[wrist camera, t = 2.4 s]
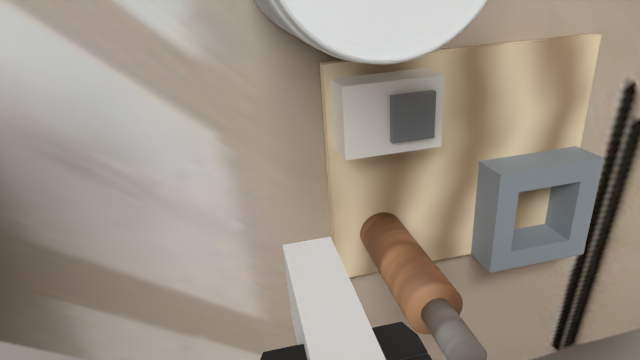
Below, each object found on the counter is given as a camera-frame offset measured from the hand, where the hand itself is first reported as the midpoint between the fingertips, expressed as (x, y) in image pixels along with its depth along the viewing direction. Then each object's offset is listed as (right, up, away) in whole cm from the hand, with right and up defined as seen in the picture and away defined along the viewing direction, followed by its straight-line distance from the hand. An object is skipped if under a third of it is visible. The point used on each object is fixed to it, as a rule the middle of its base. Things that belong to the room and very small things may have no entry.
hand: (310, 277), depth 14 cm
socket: (+18, +1, +24) cm, 30 cm away
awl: (+5, -1, +22) cm, 23 cm away
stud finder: (+5, +8, +18) cm, 20 cm away
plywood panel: (+12, +5, +22) cm, 25 cm away
